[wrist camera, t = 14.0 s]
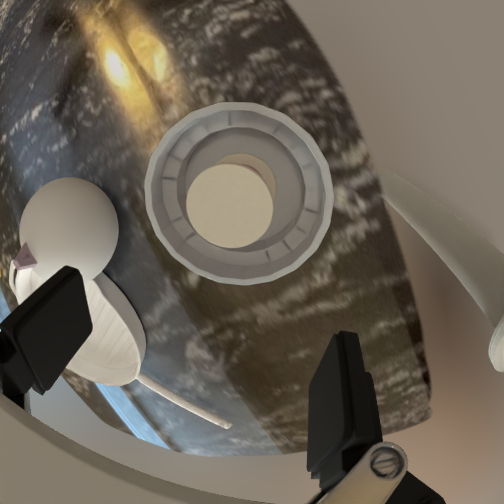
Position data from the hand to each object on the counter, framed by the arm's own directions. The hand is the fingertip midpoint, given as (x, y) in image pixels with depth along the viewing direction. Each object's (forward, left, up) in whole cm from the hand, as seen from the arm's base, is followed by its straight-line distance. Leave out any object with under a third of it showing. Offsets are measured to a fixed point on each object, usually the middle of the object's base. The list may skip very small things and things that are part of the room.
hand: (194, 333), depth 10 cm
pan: (+1, +29, -18) cm, 34 cm away
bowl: (+1, 0, -18) cm, 18 cm away
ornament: (+12, +12, -18) cm, 25 cm away
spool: (+1, 0, -17) cm, 17 cm away
